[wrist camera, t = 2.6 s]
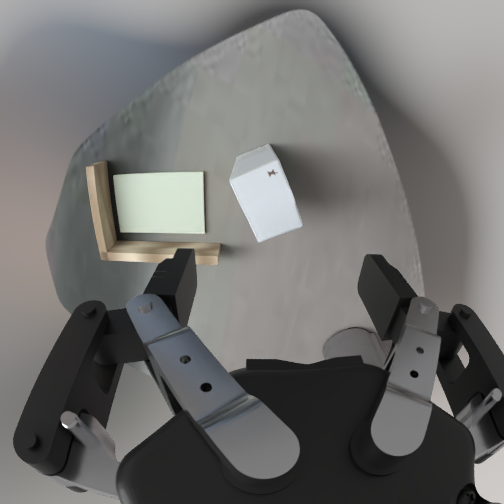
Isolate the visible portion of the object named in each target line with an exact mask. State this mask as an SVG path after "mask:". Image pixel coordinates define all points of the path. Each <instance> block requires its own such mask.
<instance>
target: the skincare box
mask: <svg viewBox="0 0 504 504" xmlns="http://www.w3.org/2000/svg"><path fill="white" fill-rule="evenodd" d="M230 184H231V186H232V188H233V190H234V193H235V195H236V197H237V199H238V201H239V203H240V205H241V207H242V209H243V211H244V213H245V215H246V217H247V219H248V221H249V223H250V226H251V228H252V230H253V232H254V234H255V236H256V238H257V240H258V242H262V241H265V240H267V239H270V238H273V237H276V236H279V235H281V234H284V233H287V232H290V231H293V230H295V229H298V228H301V227H303V226H304V224H303V221H302V218H301V215H300V213H299V210H298V207H297V205H296V202H295V199H294V195H293V193H292V190H291V188H290V185H289V183H288V180H287V178H286V175H285V173H284V170H283V168H282V165H281V163H280V161H279V159H278V157H277V155H276V154H275V152H274V151H273V149H272V147H271V146H270V144H266V145H264V146H261V147H259V148H256V149H254V150H251V151H249V152H247V153H244V154H242V155H239V156H237V158H236V161H235V164H234V167H233V171H232V174H231V177H230Z"/></svg>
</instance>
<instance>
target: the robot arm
mask: <svg viewBox="0 0 504 504" xmlns="http://www.w3.org/2000/svg"><path fill="white" fill-rule="evenodd" d="M196 288H197V273H196V260H195V250H194V248H177V250H176V252H175V254H174V256H173V258H166V259H165V260H163V261H162V262H161V263H159V265H158V266H157V268H156V270H155V272H154V274H153V276H152V278H151V279H150V281H149V283H148V285H147V287H146V289H145V291H144V293H143V294H141V295H138V296H136V297H134V298H132V299H131V300H130V301H129V302H128V304H127V306H126V308H124V309H118V310H110V311H107V309H106V306H105V304H104V303H102V302H101V301H96V300H92V301H87V302H84V303H82V304H81V305H79V306H78V307H77V308H76V309H75V310H74V312H73V314H72V315H71V317H70V319H69V320H68V322H67V324H66V325H65V327H64V329H63V331H62V332H61V334H60V336H59V338H58V339H57V341H56V343H55V345H54V347H53V349H52V350H51V352H50V354H49V356H48V358H47V360H46V362H45V364H44V366H43V368H42V370H41V372H40V374H39V376H38V378H37V380H36V383H35V385H34V387H33V389H32V391H31V394H30V396H29V398H28V400H27V403H26V405H25V407H24V410H23V412H22V415H21V417H20V420H19V422H18V426H17V428H16V431H15V433H14V437H13V444H14V448H15V451H16V453H17V455H18V456H19V457H20V458H21V459H22V460H23V461H24V462H26V463H27V464H29V465H30V466H32V467H33V468H35V469H36V470H37V471H38V472H39V473H41V474H42V475H44V476H46V477H47V478H49V479H51V480H53V481H54V482H56V483H58V484H60V485H62V486H65V487H67V488H69V489H71V490H73V491H75V492H86V491H91V492H94V493H97V494H100V495H104V496H107V497H110V498H115V499H118V500H120V502H121V504H500V503H492V502H489V501H487V500H485V499H483V498H482V497H481V496H480V495H479V494H478V492H477V490H476V487H475V482H474V463H476V464H479V463H482V462H483V461H485V460H486V459H488V458H489V457H491V456H492V455H493V454H495V453H496V452H497V451H499V450H500V449H501V448H502V447H504V355H503V353H502V351H501V350H500V348H499V347H498V345H497V344H496V342H495V341H494V339H493V338H492V336H491V335H490V333H489V332H488V330H487V329H486V327H485V326H484V324H483V323H482V322H481V320H480V319H479V318H478V316H477V315H476V313H475V312H474V311H473V310H472V309H471V308H469V307H468V306H466V305H462V304H456V305H455V306H454V307H453V309H452V311H451V313H446V312H441V311H439V309H438V306H437V305H436V304H435V303H434V302H433V301H431V300H430V299H428V298H425V297H420V296H419V297H418V296H417V294H416V293H415V292H414V290H413V289H412V288H411V286H410V285H409V284H408V283H407V281H406V280H405V279H404V278H403V276H402V275H401V273H400V272H399V271H398V270H397V269H396V268H394V267H393V266H391V265H390V264H389V263H388V262H387V261H386V259H385V258H384V257H383V256H382V255H378V254H367V255H366V256H365V258H364V262H363V265H362V269H361V273H360V277H359V281H358V293H359V296H360V297H361V299H362V301H363V303H364V305H365V307H366V309H367V311H368V313H369V315H370V317H371V319H372V321H373V323H374V326H375V328H376V330H377V332H378V334H379V336H380V338H381V340H382V341H384V340H392V341H393V342H392V344H391V346H390V348H389V351H388V354H387V356H386V358H385V356H384V353H383V351H382V349H381V347H380V344H379V342H378V340H377V338H376V336H375V333H369V332H367V331H366V330H363V329H359V328H353V329H347V330H344V331H341V332H339V333H337V334H336V335H334V336H333V337H331V338H330V339H329V340H328V341H327V343H326V344H325V346H324V348H323V355H324V359H325V360H324V361H320V362H316V363H313V364H300V363H294V362H288V361H283V360H278V359H246V368H241V369H238V370H234V371H232V372H229V373H228V372H227V370H226V369H225V368H224V367H223V366H222V365H221V364H220V362H219V361H218V360H217V359H216V358H215V357H214V355H213V354H212V353H211V352H210V351H209V350H208V348H207V347H206V346H205V345H204V343H203V342H202V341H201V340H200V339H199V337H198V336H197V335H196V334H195V332H194V331H193V330H192V329H191V328H190V327H189V326H187V324H188V320H189V316H190V312H191V308H192V304H193V301H194V297H195V293H196ZM462 345H464V347H465V348H466V350H467V352H468V354H469V358H470V359H469V364H468V366H467V367H466V369H465V368H464V366H463V364H462V362H461V360H460V358H459V356H458V355H457V353H458V352H459V350H460V348H461V347H462ZM136 361H144V363H145V365H146V367H147V369H148V370H149V372H150V374H151V376H152V378H153V379H154V381H155V383H156V385H157V386H158V388H159V390H160V391H161V393H162V395H163V397H164V399H165V401H166V403H167V405H168V407H169V409H170V410H171V412H172V414H173V415H174V417H173V418H171V419H170V420H169V421H168V422H167V423H165V424H164V425H163V426H162V427H160V428H159V429H158V430H157V431H156V432H154V433H153V434H152V435H151V436H149V437H148V438H147V439H145V440H144V441H143V442H142V443H141V444H139V445H138V446H136V447H135V448H134V449H132V450H131V451H130V452H129V453H128V454H127V455H126V456H125V457H124V458H123V460H122V461H121V462H118V461H117V459H116V455H115V443H114V440H113V438H112V437H111V435H110V434H109V433H108V432H107V431H106V426H107V422H108V418H109V414H110V410H111V406H112V403H113V399H114V396H115V392H116V389H117V385H118V382H119V379H120V375H121V372H122V369H123V366H124V363H129V362H136ZM436 374H437V376H438V378H439V381H440V383H441V385H442V388H443V390H444V392H445V395H446V397H447V400H448V402H449V405H450V407H451V410H452V412H453V415H454V417H453V416H451V415H450V414H448V413H447V412H445V411H444V410H442V409H441V408H440V407H438V406H436V405H435V404H434V403H432V402H431V401H430V399H431V394H432V390H433V385H434V380H435V375H436Z"/></svg>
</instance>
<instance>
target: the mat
mask: <svg viewBox="0 0 504 504" xmlns="http://www.w3.org/2000/svg"><path fill="white" fill-rule="evenodd" d="M113 179H114V189H115V198H116V206H117V213H118V220H119V226H120V232H136V233H194V234H205V216H204V171H191V172H154V173H135V174H119V175H113Z"/></svg>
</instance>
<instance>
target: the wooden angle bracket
mask: <svg viewBox="0 0 504 504" xmlns="http://www.w3.org/2000/svg"><path fill="white" fill-rule="evenodd" d="M86 174H87V183H88V190H89V198H90V204H91V210H92V216H93V222H94V227H95V233H96V238H97V242H98V247H99V252H100V256H101V260H113V261H133V262H156V263H161V262H162V261H163V260H165V259H166V258H173V256H174V254H175V252H176V250H177V248H194V250H195V260H196V264H206V265H218V262H219V257H220V252H221V243H190V242H150V241H117V237H116V231H115V225H114V218H113V212H112V204H111V197H110V188H109V179H108V169H107V161H99V162H97V163H94V164H92V165H89V166H87V167H86Z"/></svg>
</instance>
